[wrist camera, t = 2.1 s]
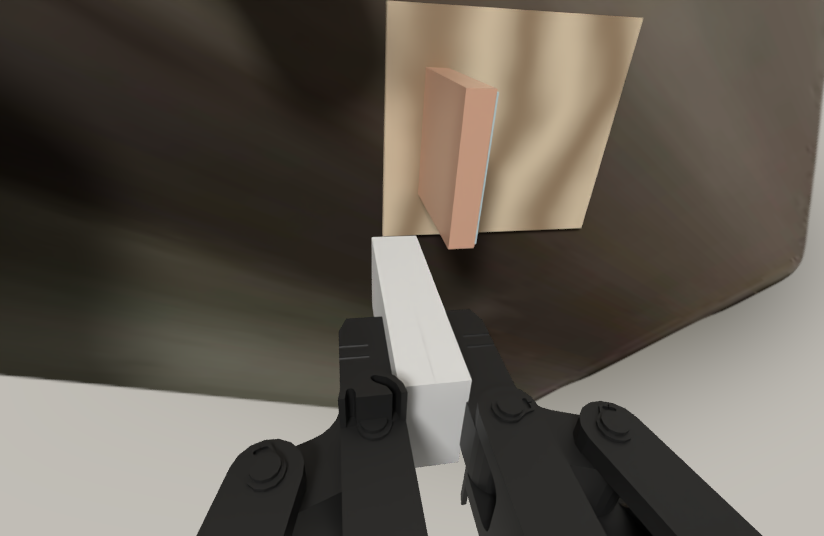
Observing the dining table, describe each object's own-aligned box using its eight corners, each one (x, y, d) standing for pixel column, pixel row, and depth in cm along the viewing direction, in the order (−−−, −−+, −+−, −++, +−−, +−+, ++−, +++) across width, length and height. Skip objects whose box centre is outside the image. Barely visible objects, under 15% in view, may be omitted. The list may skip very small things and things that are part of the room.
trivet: (382, 233, 38) (383, 236, 37) (386, 0, 28) (387, 0, 28) (578, 225, 42) (581, 228, 41) (638, 17, 32) (643, 18, 32)
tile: (418, 194, 36) (448, 249, 27) (425, 67, 31) (466, 87, 22) (440, 193, 36) (476, 247, 28) (451, 68, 31) (501, 88, 23)
